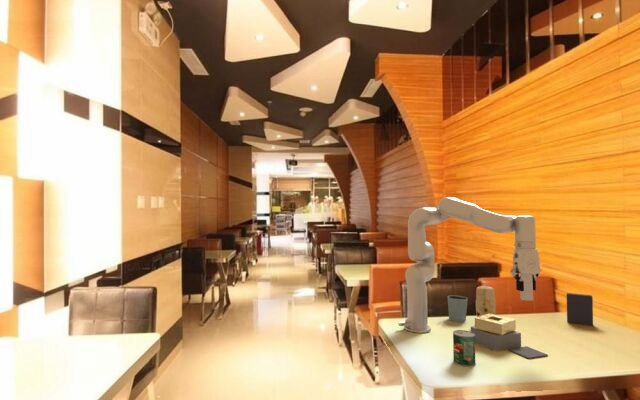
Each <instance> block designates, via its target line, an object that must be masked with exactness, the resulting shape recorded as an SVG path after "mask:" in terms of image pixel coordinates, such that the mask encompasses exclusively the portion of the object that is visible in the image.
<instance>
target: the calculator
mask: <svg viewBox="0 0 640 400" xmlns="http://www.w3.org/2000/svg"><path fill="white" fill-rule="evenodd" d="M593 302H594V301H593V295H591V294H583V293H574V292H573V293H571V292H566V321H567V323H568V324H574V325H575V324H576V325H584V326H591V327H593V326H594V310H593V309H594V307H593V306H594V305H593V304H594V303H593Z"/></svg>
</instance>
